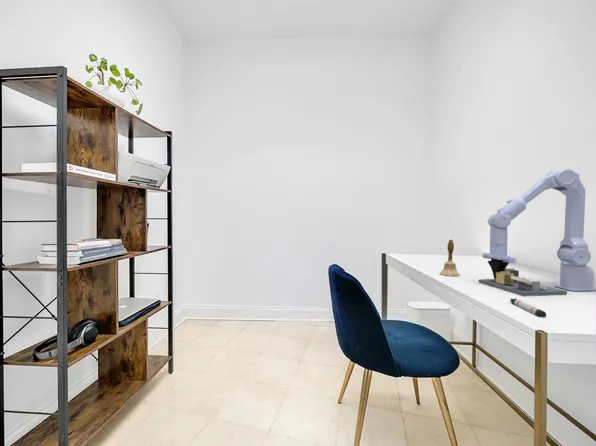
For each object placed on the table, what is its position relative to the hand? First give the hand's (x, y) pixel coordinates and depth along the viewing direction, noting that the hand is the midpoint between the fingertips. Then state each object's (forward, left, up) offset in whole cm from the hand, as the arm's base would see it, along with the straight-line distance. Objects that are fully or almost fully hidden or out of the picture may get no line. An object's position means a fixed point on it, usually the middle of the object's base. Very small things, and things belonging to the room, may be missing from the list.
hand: (497, 279), depth 125 cm
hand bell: (+5, -23, -3) cm, 24 cm away
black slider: (-7, -2, -1) cm, 7 cm away
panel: (-5, +5, -2) cm, 7 cm away
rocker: (-2, +12, +1) cm, 12 cm away
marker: (+15, +29, -3) cm, 33 cm away
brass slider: (0, +4, -1) cm, 4 cm away
